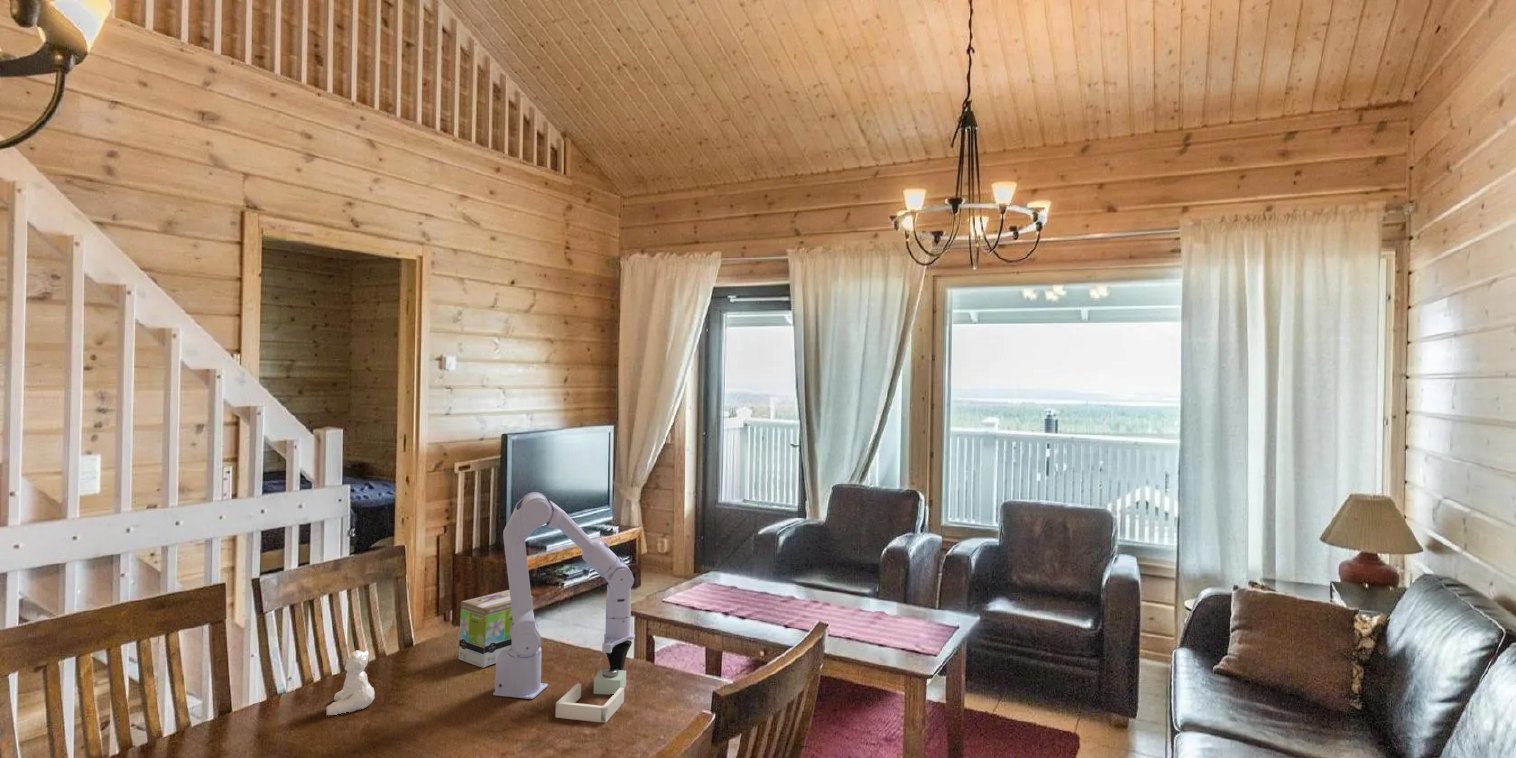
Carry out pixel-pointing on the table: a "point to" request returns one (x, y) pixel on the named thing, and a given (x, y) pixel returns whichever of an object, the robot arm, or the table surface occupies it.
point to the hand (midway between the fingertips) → (616, 673)
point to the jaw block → (609, 680)
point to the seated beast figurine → (353, 687)
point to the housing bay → (587, 706)
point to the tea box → (485, 628)
